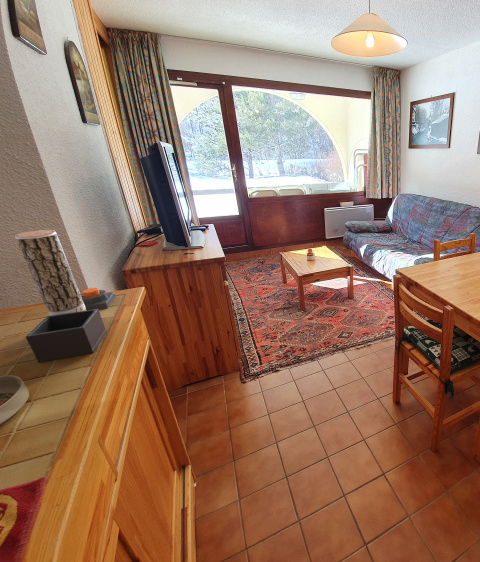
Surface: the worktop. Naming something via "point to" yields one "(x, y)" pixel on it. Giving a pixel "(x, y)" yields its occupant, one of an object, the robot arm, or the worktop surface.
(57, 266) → the bark log cylinder
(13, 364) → the worktop surface
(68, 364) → the worktop surface
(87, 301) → the block
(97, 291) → the release button
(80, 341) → the dock
